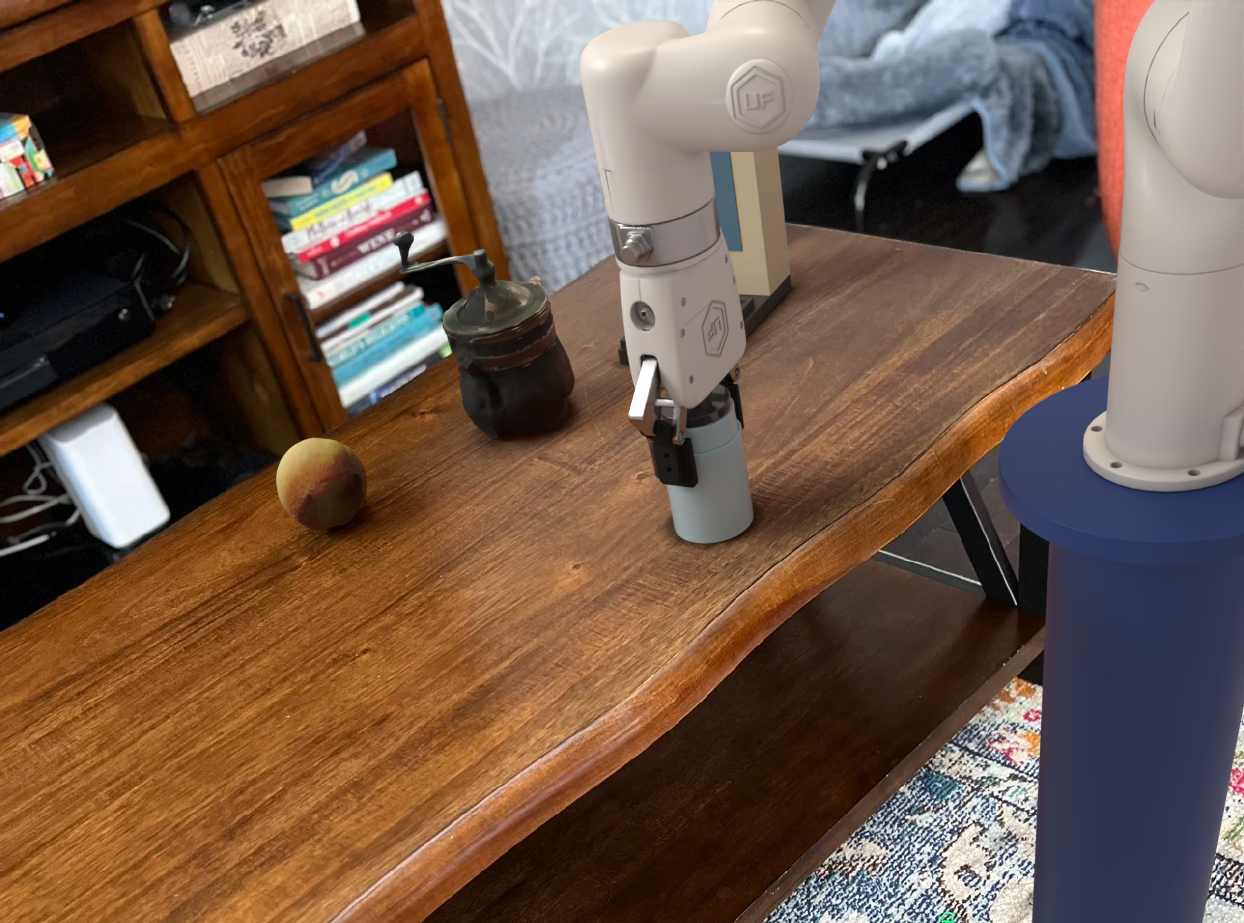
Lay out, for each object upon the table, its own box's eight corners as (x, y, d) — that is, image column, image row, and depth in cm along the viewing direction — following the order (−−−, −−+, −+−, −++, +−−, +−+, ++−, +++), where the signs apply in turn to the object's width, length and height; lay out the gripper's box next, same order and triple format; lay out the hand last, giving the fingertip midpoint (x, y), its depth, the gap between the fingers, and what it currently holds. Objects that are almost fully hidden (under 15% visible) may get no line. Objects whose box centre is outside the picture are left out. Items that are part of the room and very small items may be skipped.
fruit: (395, 502, 119) (366, 423, 113) (342, 553, 114) (309, 474, 108) (333, 493, 122) (302, 416, 116) (279, 543, 118) (244, 465, 112)
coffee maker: (718, 371, 124) (684, 151, 110) (619, 363, 129) (575, 152, 115) (793, 287, 134) (771, 75, 120) (698, 283, 139) (667, 79, 125)
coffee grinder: (470, 389, 132) (417, 209, 119) (602, 389, 126) (560, 200, 114) (415, 456, 124) (351, 271, 111) (552, 459, 118) (502, 264, 106)
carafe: (732, 548, 103) (712, 426, 95) (644, 535, 107) (619, 417, 99) (767, 503, 106) (751, 381, 99) (681, 492, 110) (659, 374, 103)
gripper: (652, 289, 83) (694, 523, 95) (767, 178, 93) (791, 405, 105) (556, 285, 87) (609, 511, 99) (676, 179, 96) (710, 397, 108)
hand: (702, 455), depth 102 cm, fingers open, 7 cm apart
